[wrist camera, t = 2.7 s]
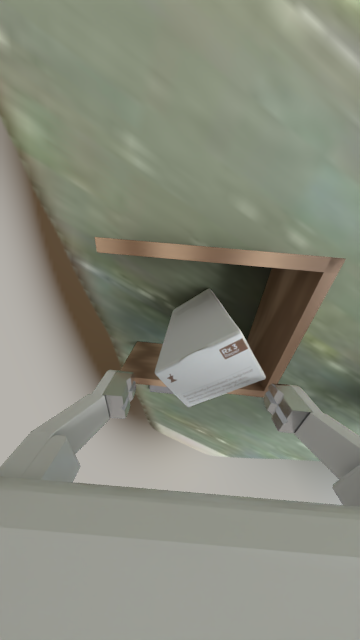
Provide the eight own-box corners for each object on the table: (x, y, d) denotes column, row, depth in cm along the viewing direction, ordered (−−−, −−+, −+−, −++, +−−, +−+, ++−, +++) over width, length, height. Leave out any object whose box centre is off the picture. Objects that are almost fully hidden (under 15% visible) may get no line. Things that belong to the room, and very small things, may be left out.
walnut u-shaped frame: (284, 256, 16) (345, 258, 10) (247, 357, 23) (269, 398, 16) (130, 243, 17) (94, 237, 10) (137, 346, 23) (118, 381, 17)
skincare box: (188, 331, 21) (187, 413, 10) (171, 307, 20) (148, 375, 9) (225, 311, 20) (271, 385, 9) (210, 283, 18) (241, 331, 7)
